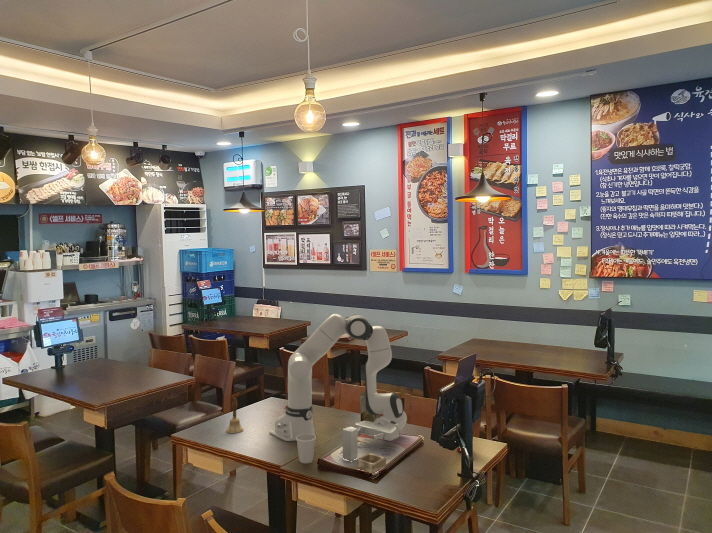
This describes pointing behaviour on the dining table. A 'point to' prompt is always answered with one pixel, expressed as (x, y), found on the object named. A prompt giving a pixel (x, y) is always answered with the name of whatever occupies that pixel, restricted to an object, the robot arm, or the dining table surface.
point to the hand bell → (234, 420)
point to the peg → (350, 443)
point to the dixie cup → (306, 447)
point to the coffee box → (364, 413)
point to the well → (371, 463)
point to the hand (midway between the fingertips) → (365, 435)
